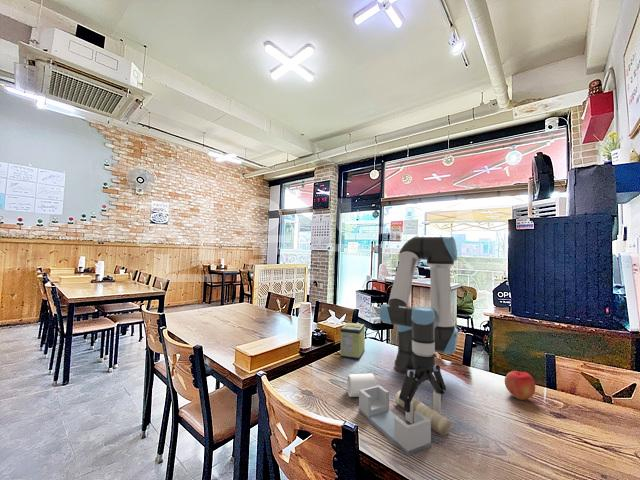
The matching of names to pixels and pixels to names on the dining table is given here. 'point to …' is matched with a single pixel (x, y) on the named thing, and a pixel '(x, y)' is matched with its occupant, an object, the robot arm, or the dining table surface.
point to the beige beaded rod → (428, 415)
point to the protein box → (352, 341)
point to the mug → (359, 383)
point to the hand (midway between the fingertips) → (423, 416)
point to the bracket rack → (394, 421)
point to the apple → (520, 384)
